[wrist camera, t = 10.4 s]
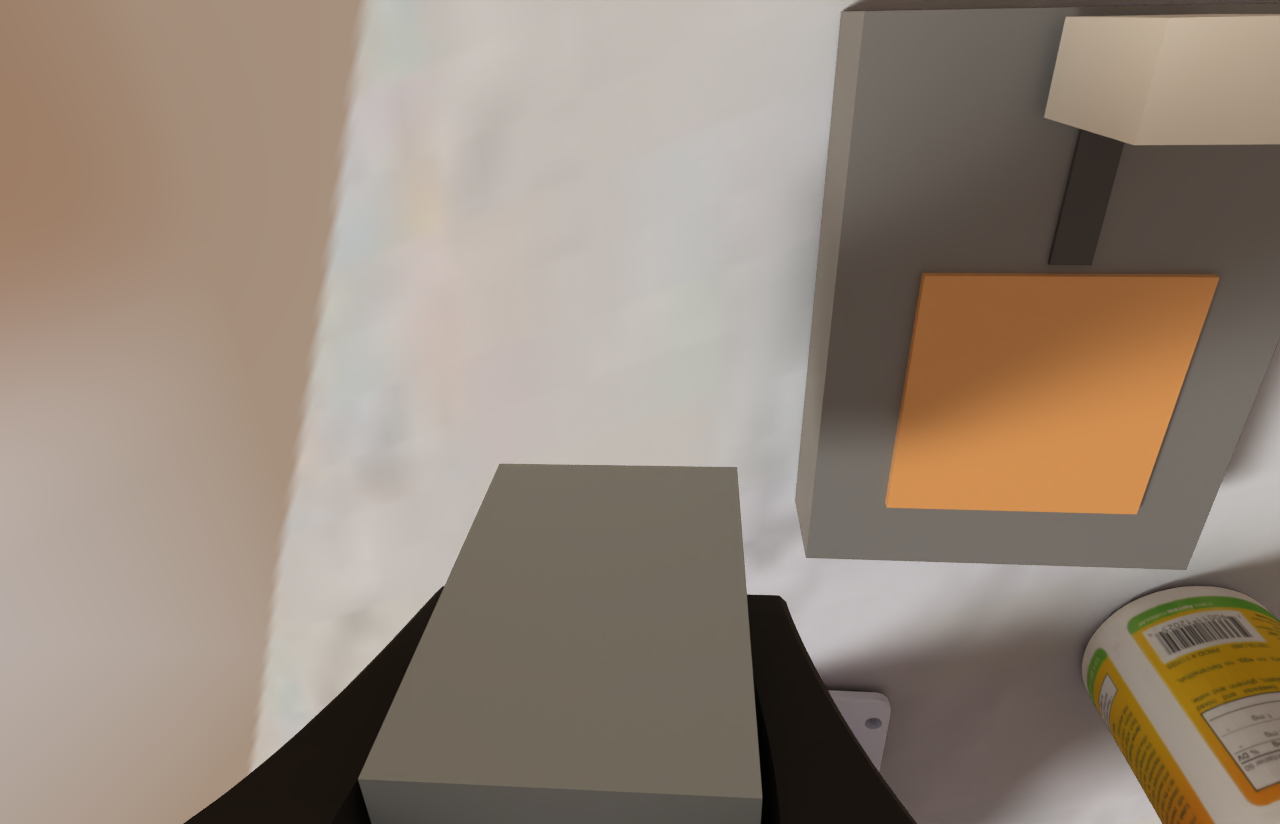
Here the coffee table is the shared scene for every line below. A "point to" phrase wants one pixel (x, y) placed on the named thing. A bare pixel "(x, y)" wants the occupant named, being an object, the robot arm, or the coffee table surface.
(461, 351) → the coffee table surface
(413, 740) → the block
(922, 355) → the switch box
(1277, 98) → the lever
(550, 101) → the coffee table surface
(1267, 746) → the supplement bottle
